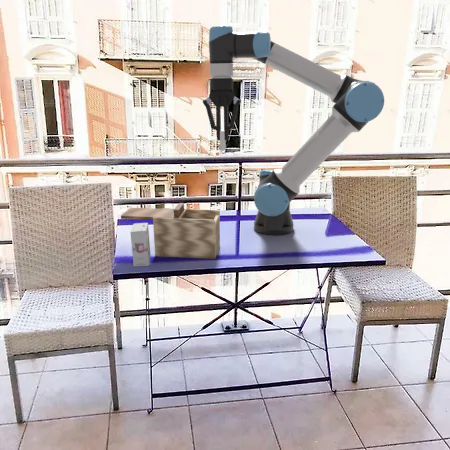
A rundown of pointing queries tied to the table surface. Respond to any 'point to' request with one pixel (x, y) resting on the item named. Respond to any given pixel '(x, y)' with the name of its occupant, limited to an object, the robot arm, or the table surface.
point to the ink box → (140, 244)
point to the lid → (154, 213)
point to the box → (188, 234)
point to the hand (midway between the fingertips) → (222, 149)
